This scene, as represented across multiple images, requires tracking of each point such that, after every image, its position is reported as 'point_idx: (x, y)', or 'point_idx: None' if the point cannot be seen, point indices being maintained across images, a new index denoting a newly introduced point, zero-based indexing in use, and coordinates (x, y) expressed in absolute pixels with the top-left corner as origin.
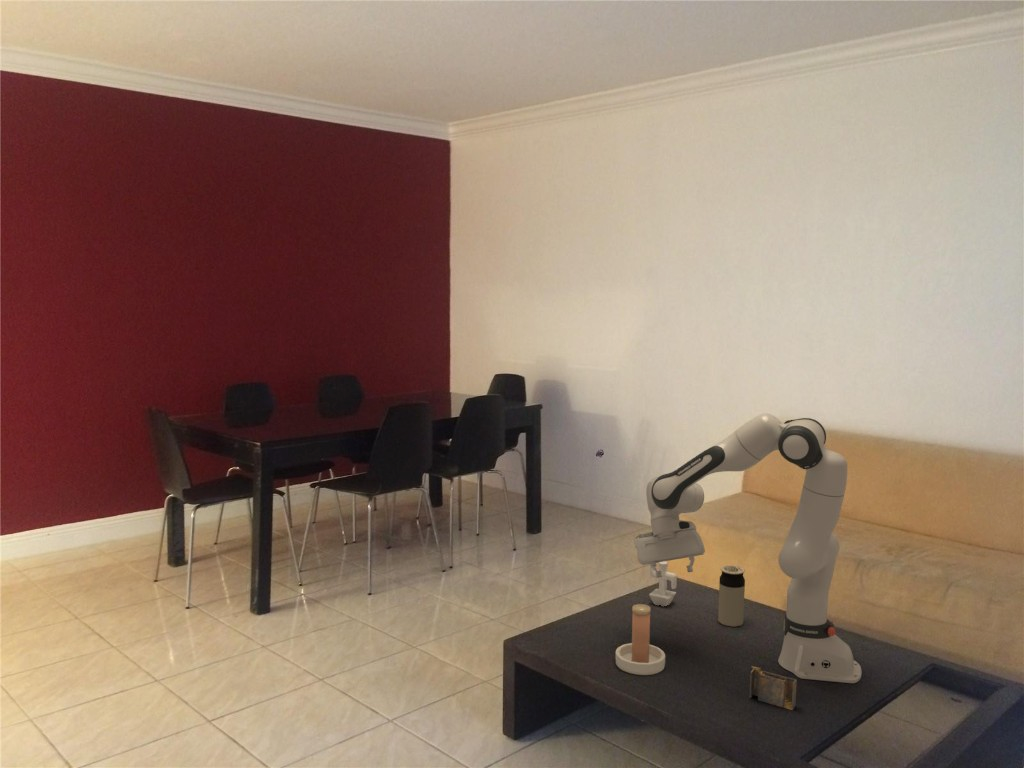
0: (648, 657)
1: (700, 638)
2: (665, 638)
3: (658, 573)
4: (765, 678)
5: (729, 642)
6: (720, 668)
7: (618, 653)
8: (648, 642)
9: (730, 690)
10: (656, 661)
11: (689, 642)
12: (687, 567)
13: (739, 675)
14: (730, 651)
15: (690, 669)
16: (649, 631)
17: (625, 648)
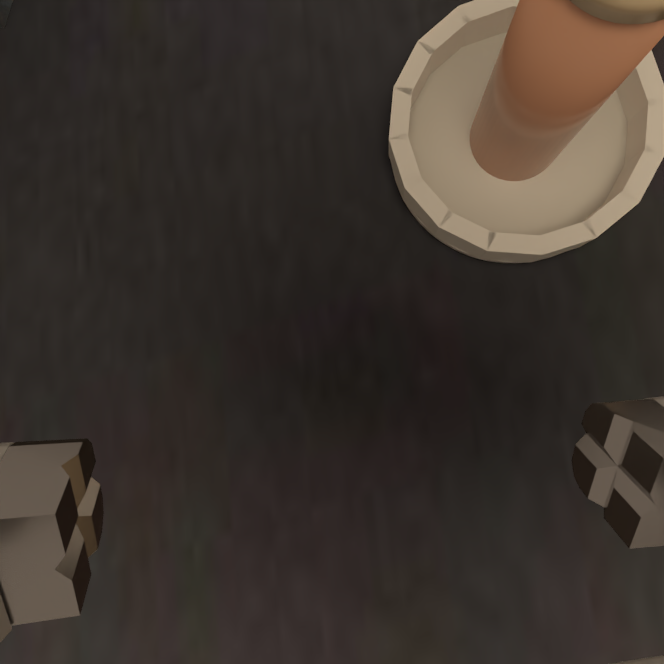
0: (475, 116)
1: (249, 542)
2: (427, 489)
3: (661, 418)
4: None
5: (107, 533)
6: (138, 224)
7: (646, 75)
8: (494, 66)
9: (89, 28)
10: (425, 52)
11: (300, 474)
12: (48, 485)
13: (56, 182)
14: (100, 426)
15: (268, 167)
16: (506, 42)
17: (619, 189)
